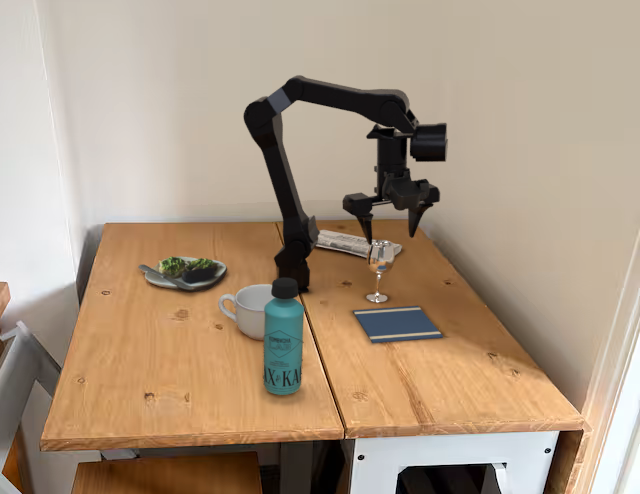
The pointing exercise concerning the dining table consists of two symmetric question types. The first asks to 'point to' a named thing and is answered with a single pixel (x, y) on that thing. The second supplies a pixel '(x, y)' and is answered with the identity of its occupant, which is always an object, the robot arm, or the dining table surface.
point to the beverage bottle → (283, 338)
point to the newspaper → (347, 243)
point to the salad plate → (185, 273)
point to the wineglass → (380, 264)
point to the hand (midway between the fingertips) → (390, 240)
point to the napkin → (396, 324)
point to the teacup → (249, 308)
